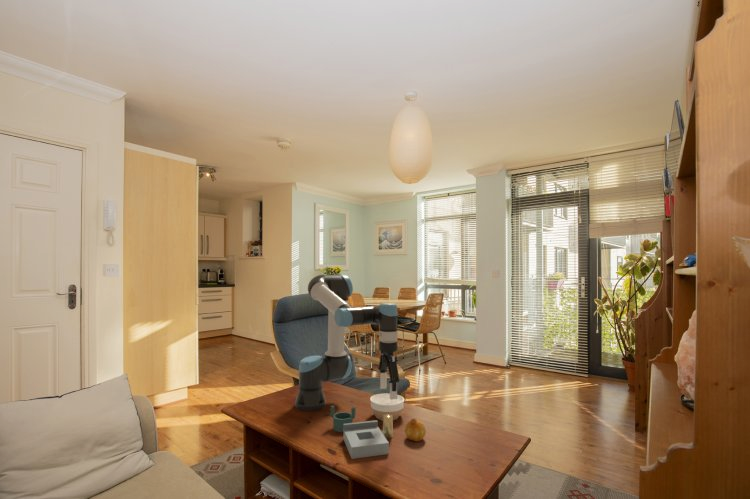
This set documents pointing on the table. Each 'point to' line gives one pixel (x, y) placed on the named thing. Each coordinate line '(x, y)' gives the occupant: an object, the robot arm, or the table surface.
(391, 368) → the robot arm
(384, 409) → the bowl
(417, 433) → the fruit
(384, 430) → the brass cylinder
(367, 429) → the jig
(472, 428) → the table surface
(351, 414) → the bracket
